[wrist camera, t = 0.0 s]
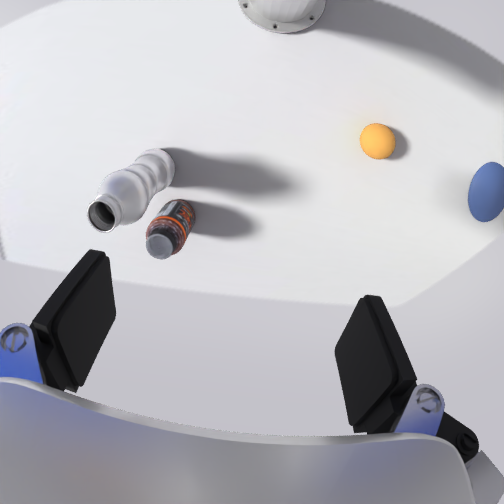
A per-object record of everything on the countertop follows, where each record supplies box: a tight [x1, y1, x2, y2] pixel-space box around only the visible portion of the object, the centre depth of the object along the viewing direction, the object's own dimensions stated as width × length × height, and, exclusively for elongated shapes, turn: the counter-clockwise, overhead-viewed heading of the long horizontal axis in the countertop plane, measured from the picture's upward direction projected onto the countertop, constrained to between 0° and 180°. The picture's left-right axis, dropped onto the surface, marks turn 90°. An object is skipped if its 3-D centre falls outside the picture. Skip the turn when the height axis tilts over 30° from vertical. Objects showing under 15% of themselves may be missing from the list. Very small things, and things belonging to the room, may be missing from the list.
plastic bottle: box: [87, 149, 175, 233], centre depth 36 cm, size 6×7×20 cm
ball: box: [360, 123, 395, 159], centre depth 39 cm, size 6×6×6 cm
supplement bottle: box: [146, 200, 195, 259], centre depth 44 cm, size 6×6×11 cm
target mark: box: [468, 162, 504, 222], centre depth 43 cm, size 13×13×1 cm
